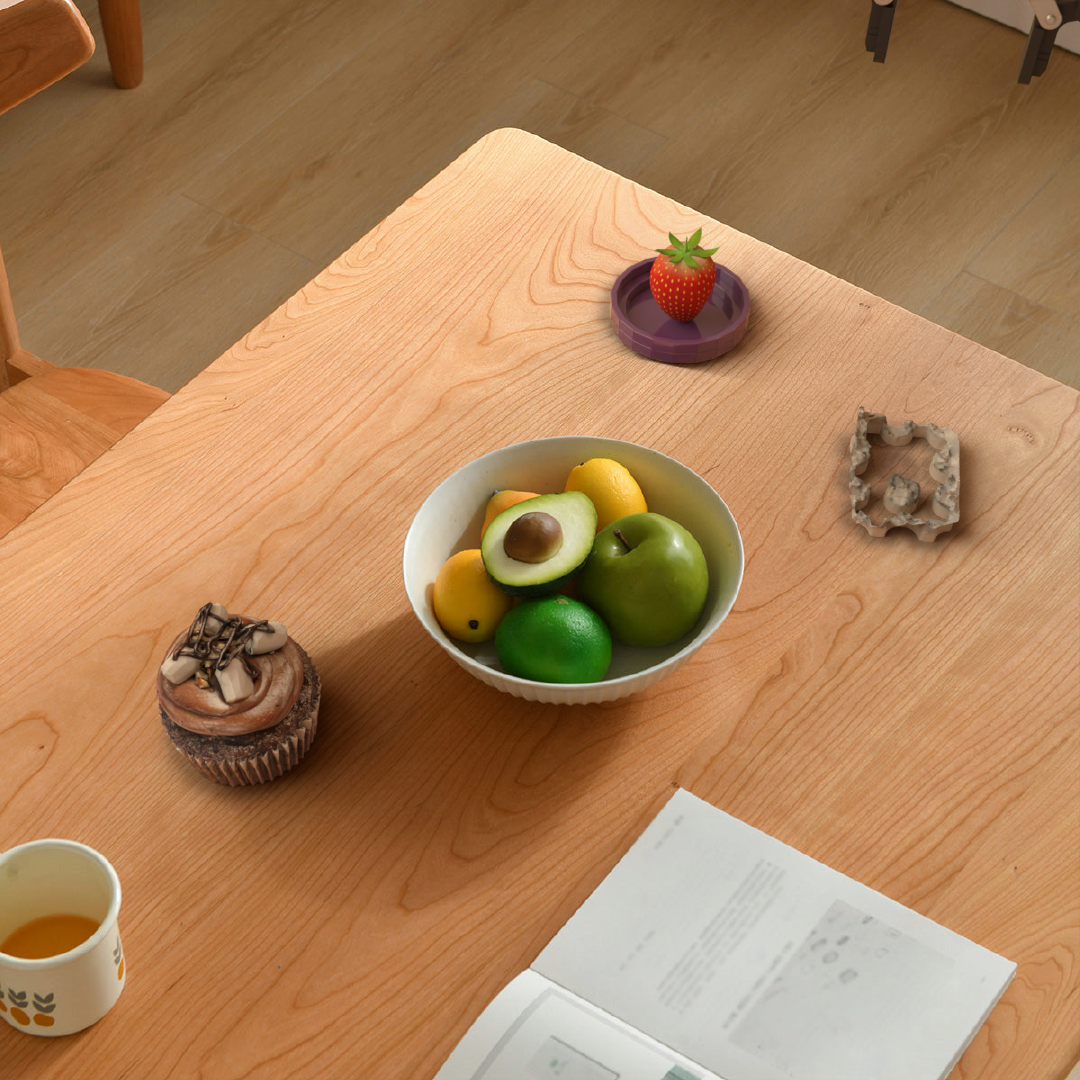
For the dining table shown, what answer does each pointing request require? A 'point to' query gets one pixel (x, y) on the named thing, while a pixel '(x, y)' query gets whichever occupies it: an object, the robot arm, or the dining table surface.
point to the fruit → (683, 277)
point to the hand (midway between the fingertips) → (950, 67)
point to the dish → (670, 338)
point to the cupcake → (238, 697)
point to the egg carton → (903, 490)
